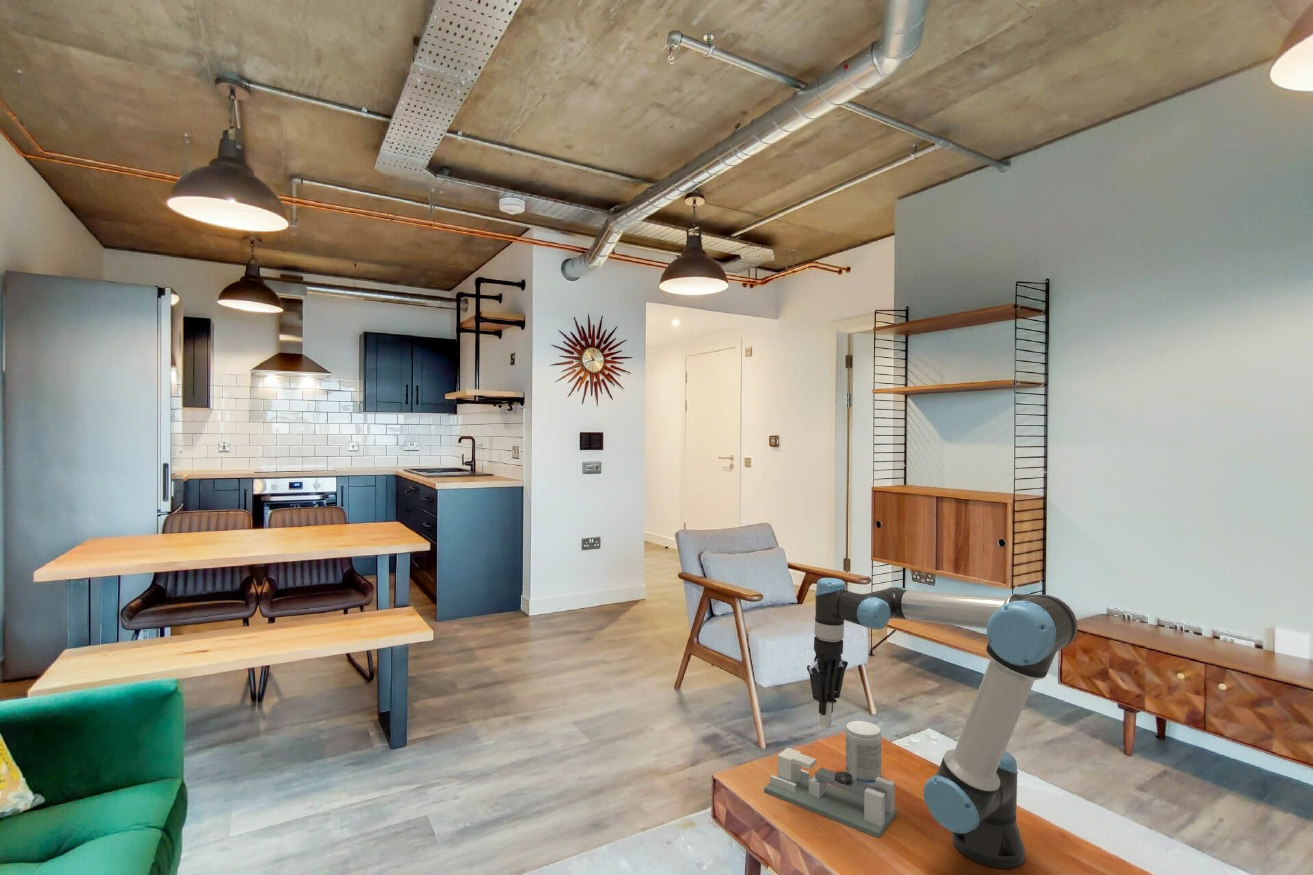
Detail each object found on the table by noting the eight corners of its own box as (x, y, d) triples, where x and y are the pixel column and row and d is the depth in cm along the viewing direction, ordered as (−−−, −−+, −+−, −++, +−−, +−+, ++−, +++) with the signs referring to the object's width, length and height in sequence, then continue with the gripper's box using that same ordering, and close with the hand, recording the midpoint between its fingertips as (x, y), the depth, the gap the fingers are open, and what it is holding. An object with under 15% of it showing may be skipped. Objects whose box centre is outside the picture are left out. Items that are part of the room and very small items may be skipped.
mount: (896, 814, 164) (897, 781, 164) (878, 837, 154) (879, 802, 154) (786, 773, 183) (787, 743, 183) (764, 792, 173) (764, 760, 173)
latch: (817, 785, 175) (817, 757, 175) (807, 794, 170) (808, 766, 170) (787, 774, 180) (787, 747, 181) (777, 782, 176) (777, 755, 176)
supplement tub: (887, 780, 180) (888, 728, 181) (870, 792, 174) (871, 738, 174) (855, 767, 187) (856, 717, 188) (838, 778, 181) (839, 726, 181)
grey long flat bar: (886, 796, 162) (887, 787, 162) (880, 804, 159) (880, 794, 159) (821, 772, 173) (822, 763, 173) (814, 778, 170) (814, 769, 170)
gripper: (835, 630, 177) (832, 715, 177) (800, 636, 171) (797, 724, 171) (856, 638, 171) (853, 726, 171) (820, 645, 164) (817, 736, 164)
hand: (825, 725), depth 171 cm, fingers closed
